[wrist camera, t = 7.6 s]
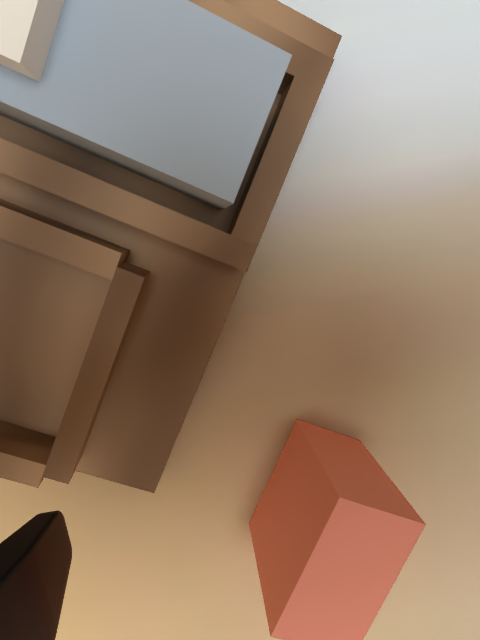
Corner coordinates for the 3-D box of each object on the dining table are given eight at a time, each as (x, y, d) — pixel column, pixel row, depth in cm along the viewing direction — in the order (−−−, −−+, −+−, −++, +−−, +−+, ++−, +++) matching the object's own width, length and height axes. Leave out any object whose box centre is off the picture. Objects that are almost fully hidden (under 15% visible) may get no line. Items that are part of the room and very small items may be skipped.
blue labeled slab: (261, 108, 16) (304, 33, 9) (221, 210, 16) (237, 200, 10) (-14, -26, 14) (-176, -225, 8) (-47, 94, 14) (-220, -1, 8)
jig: (331, 49, 16) (363, 8, 13) (156, 477, 20) (149, 524, 17) (-35, -147, 14) (-101, -255, 11) (-167, 381, 17) (-248, 416, 14)
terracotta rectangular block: (359, 440, 21) (425, 524, 15) (310, 539, 22) (354, 656, 16) (296, 418, 20) (339, 497, 14) (249, 522, 21) (270, 636, 15)
